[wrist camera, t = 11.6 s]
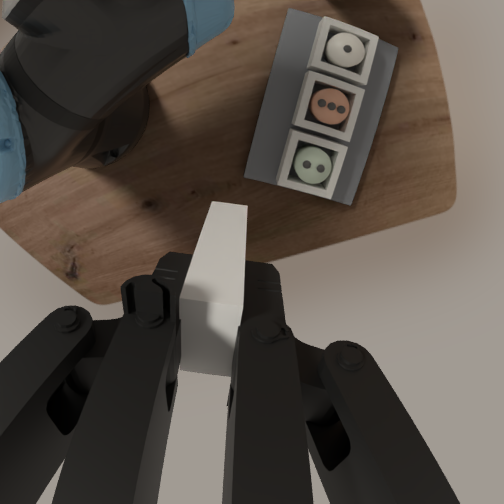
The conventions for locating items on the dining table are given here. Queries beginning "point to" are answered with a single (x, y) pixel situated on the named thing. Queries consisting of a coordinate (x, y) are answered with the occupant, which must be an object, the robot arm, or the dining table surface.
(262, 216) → the dining table surface
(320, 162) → the button two
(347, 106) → the button three
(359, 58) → the button one
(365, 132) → the button board
